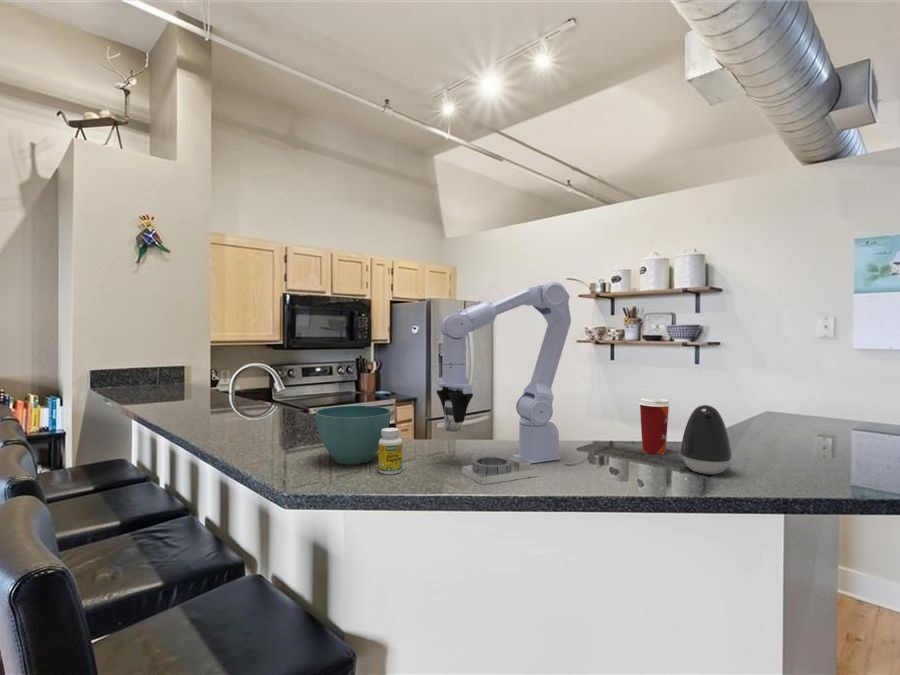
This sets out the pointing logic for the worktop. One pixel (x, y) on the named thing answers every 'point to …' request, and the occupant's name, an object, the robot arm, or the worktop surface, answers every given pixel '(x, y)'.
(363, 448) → the teal bowl
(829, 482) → the worktop surface
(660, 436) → the paper cup
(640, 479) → the worktop surface
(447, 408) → the lens
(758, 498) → the worktop surface
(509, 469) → the octagonal collar plate
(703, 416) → the black egg-shaped body
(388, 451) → the supplement bottle
